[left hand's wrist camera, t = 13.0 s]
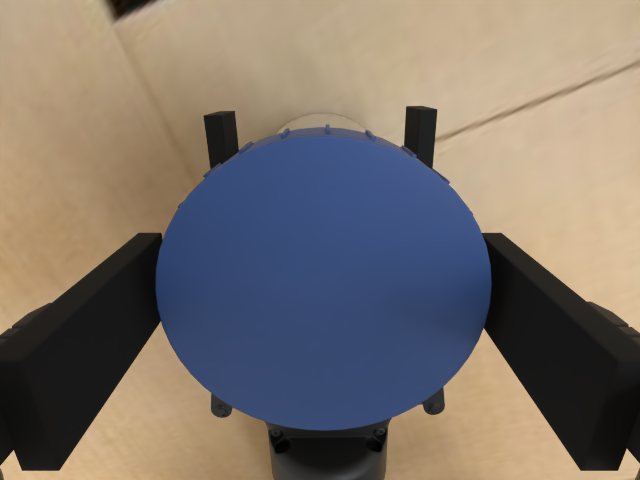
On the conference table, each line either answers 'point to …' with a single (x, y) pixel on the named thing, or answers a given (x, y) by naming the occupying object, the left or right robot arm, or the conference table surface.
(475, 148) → the conference table surface
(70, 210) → the conference table surface
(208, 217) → the lid
